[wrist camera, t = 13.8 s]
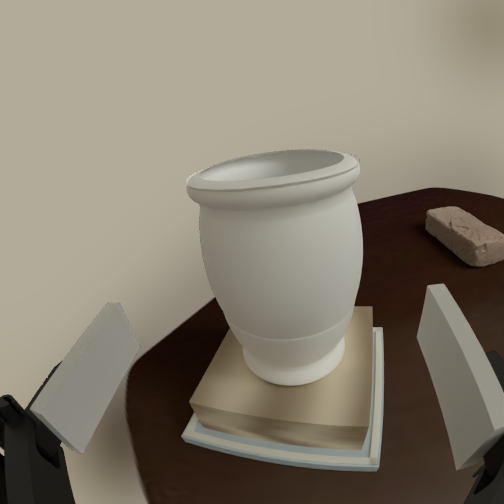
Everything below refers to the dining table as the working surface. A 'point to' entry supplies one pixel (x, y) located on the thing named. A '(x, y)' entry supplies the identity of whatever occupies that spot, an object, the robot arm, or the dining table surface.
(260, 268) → the jar
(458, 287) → the dining table surface
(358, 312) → the plinth
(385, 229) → the dining table surface
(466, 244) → the brick
